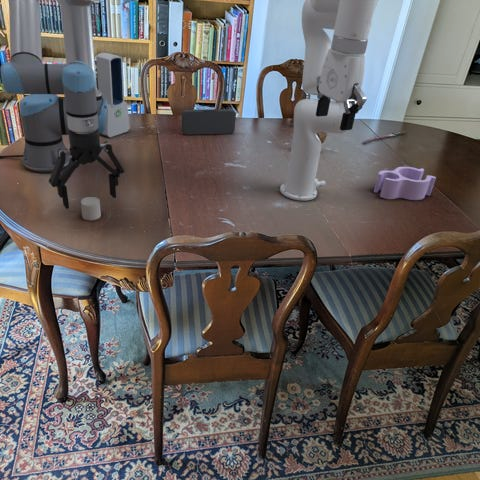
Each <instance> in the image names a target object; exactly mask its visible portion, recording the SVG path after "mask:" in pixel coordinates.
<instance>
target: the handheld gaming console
mask: <svg viewBox="0 0 480 480" xmlns="http://www.w3.org/2000/svg"><path fill="white" fill-rule="evenodd" d="M236 119H237V112H236V111H235V109H229V108H227V109H226V108H206V109H205V108H199V109H195V108H194V109H184V110H183V111H182V112H181V130H180V131H181V132H182V133H183V135H222V134H224V135H226V134H234V132H236Z"/></svg>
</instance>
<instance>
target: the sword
mask: <svg viewBox="0 0 480 480" xmlns="http://www.w3.org/2000/svg"><path fill="white" fill-rule="evenodd" d="M406 134H408V132H407V133H403V134H401V133H400V132H392V133H389V134H387V135H381V136H378V137H373V138H370V139H366V140H365V141H363V145H365V144H367V143H370V142H374V141H378V140H381V139H386V138H391V137H397V136H399V135H406Z"/></svg>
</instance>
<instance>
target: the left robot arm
mask: <svg viewBox="0 0 480 480" xmlns="http://www.w3.org/2000/svg"><path fill="white" fill-rule="evenodd" d="M56 1H57V3H58V4H59V6H60V7H59V8H60V13H61V14H60V15H61V16H60V17H61V27H62V33H63V34H62V35H63V42H64V44H63V45H64V54H65V63H43V50H42V49H43V48H42V28H41V9H40V0H8V12H9V14H8V15H9V16H8V18H9V50H10V51H9V54H10V55H9V57H10V61H7V62H3V63H1V65H0V78H1V83H2V87H3V89H4V91H5V92H6V93H8V94H12V95H22V96H23V97H22V98H21V99H20V101H19V103H18V104H19V116H20V119H21V125H22V130H23V131H22V132H23V137H24V148H23V153H22V154H12V155H11V154H10V155H0V159H7V158H21V159H22V160H21V161H22V166H23V168H24V169H25V170H27V171H29V172H33V173H39V174H46V173H50V176H49V179H48V183H49V184H50V186H51V187H52V188H56V191H57V195H58V197H59V198H60V199H62V205H63V206H64V208H65V209H66V210H69V209H70V203H69V195H68V194H69V193H68V187H67V186H66V183H67V182H68V181H69V179H70V178H71V176H72V175H73V173H74V172H75V171H76V169H78V168H79V166H80V165H82V166H84V165H87V164H95V163H94V162H96V161H97V162H98V163H99V164H100V165H101V166H102V167H104V168H105V169H106V170H107V171H108V172H110V173H108V184H109V185H108V186H109V195H110V196H111V197H112V198H113V199H116V198H117V187H118V186H119V178H120V175H121V174H124V173H125V169H124V168H123V166H122V164H121V162H120V161H119V159H118V158H117V156H116V155H115V153H114V151H113V146H112V144H110V142H108V141H104V142H103V143H102V144H100V135H102V133H103V132H104V131H105V128H106V118H107V100H106V99H104V98H102V93H101V92H100V91H99V90H98V88H97V87H98V86H97V73H96V62H95V47H94V35H93V21H92V8H91V6H92V5H93V3H94V2H96V0H56ZM58 95H62V96H63V98H59V96H58ZM63 136H68V141H69V148H68V147H66V145H65V143H64V140H63ZM102 151H104V152H105V153H106V154H107V156H108V157H109V159H110V160H111V162H112V164H113V165H114V167H115V168H114V167H112V166H111V165H110V164H109V163H107V161H105V160H104V159H103V158H102V157H101V156H100V154H101V152H102Z"/></svg>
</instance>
